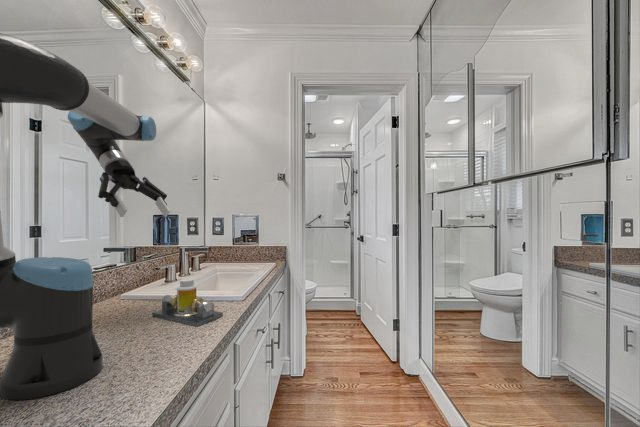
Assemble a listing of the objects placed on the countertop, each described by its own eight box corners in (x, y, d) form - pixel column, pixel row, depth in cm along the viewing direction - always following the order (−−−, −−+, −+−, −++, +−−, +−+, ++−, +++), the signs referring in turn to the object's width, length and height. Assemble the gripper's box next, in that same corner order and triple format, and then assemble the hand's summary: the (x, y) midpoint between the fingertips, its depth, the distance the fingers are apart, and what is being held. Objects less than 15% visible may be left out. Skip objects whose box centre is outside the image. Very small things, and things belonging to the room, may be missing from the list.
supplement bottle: (198, 312, 95) (198, 280, 96) (180, 316, 92) (180, 282, 92) (193, 308, 100) (193, 277, 100) (175, 311, 96) (175, 279, 96)
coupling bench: (197, 326, 87) (197, 304, 87) (152, 316, 96) (152, 296, 96) (222, 316, 96) (222, 296, 96) (179, 308, 105) (179, 289, 105)
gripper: (148, 180, 110) (177, 221, 103) (67, 171, 88) (96, 223, 81) (158, 164, 108) (187, 205, 101) (77, 151, 86) (107, 203, 79)
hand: (147, 213), depth 91 cm, fingers open, 13 cm apart
